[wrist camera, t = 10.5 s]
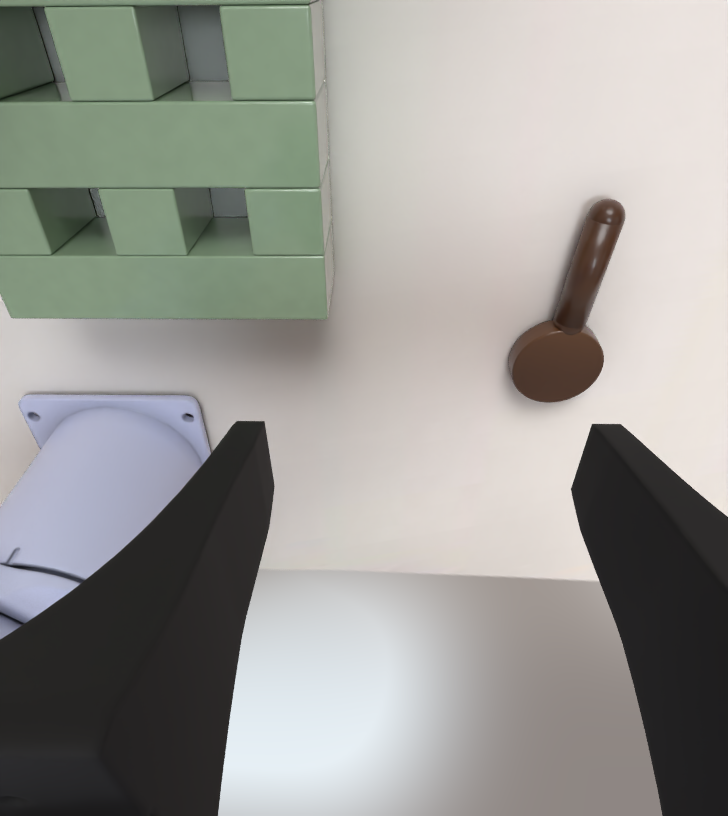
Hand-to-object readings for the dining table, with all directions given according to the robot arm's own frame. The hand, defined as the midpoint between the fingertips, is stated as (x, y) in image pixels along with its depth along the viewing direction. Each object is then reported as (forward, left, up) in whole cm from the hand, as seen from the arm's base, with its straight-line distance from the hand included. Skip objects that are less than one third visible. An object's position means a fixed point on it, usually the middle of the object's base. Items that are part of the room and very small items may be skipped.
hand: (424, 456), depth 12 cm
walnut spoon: (+3, -7, -10) cm, 12 cm away
